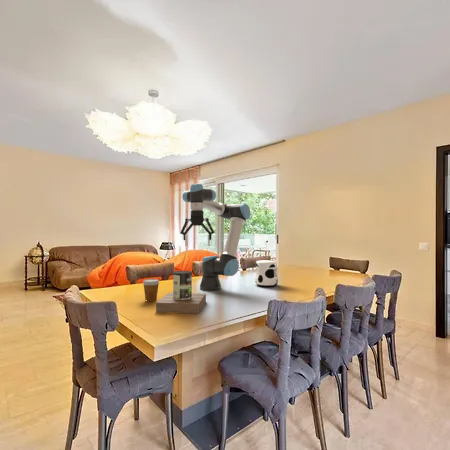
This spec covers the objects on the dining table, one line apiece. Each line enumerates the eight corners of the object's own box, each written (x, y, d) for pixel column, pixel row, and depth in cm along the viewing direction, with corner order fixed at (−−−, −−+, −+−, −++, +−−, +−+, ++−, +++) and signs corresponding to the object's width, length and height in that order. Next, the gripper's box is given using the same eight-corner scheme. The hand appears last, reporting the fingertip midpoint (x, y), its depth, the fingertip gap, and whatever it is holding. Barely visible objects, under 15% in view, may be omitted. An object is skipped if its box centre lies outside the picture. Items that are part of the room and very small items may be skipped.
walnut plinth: (169, 301, 165) (169, 292, 165) (205, 302, 162) (205, 293, 162) (156, 312, 143) (156, 302, 143) (198, 313, 140) (198, 303, 140)
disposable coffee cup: (162, 299, 169) (162, 279, 169) (153, 303, 160) (153, 282, 160) (148, 297, 172) (148, 278, 172) (139, 301, 163) (139, 281, 163)
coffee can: (194, 295, 157) (194, 270, 157) (188, 300, 146) (188, 273, 147) (177, 295, 159) (177, 270, 159) (169, 299, 148) (169, 273, 149)
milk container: (252, 283, 217) (252, 260, 217) (274, 283, 219) (274, 260, 219) (257, 288, 200) (257, 263, 200) (281, 287, 201) (281, 262, 202)
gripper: (174, 210, 164) (175, 246, 164) (216, 209, 161) (217, 246, 162) (178, 210, 171) (178, 245, 171) (218, 209, 169) (219, 244, 169)
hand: (197, 245), depth 166 cm, fingers open, 13 cm apart
